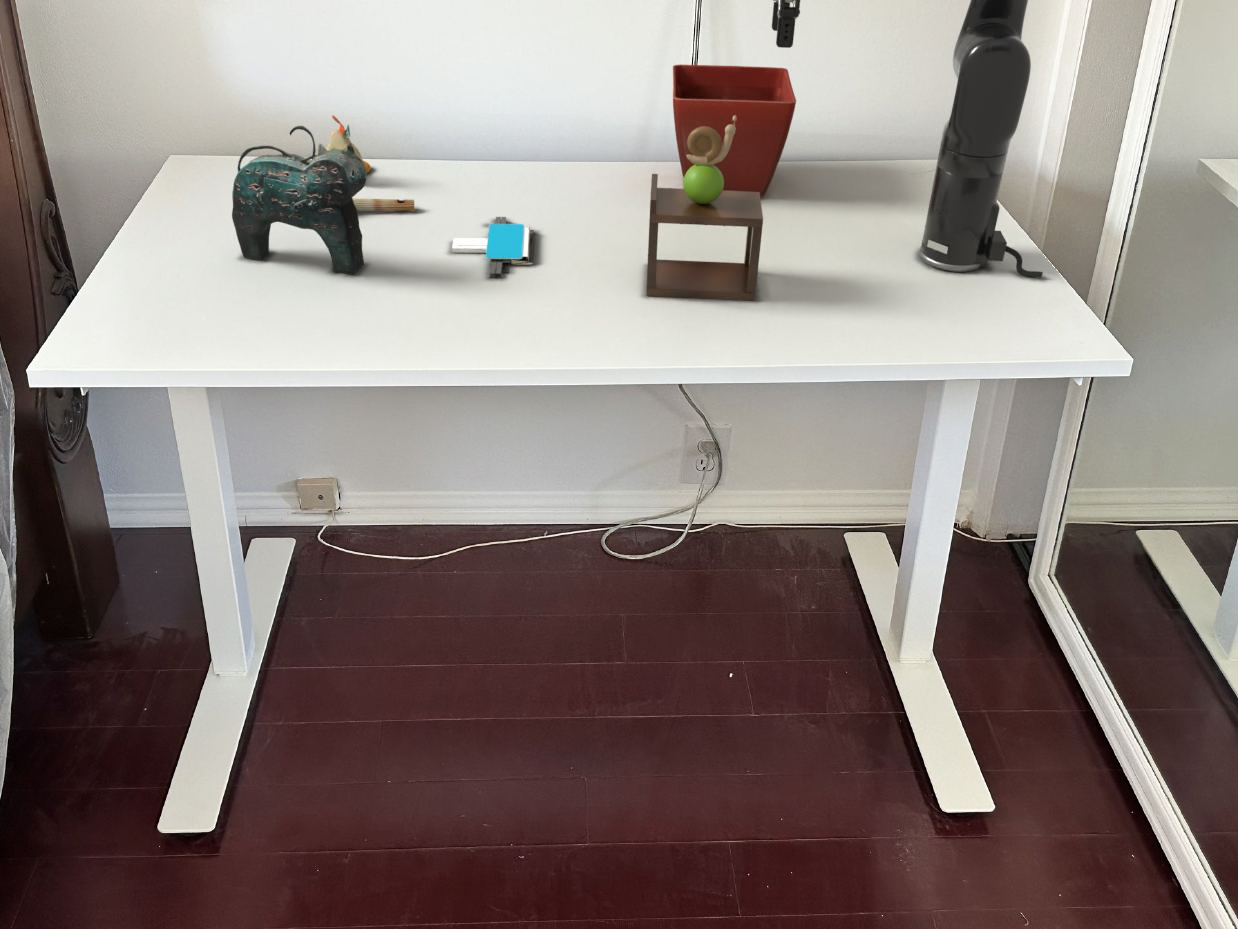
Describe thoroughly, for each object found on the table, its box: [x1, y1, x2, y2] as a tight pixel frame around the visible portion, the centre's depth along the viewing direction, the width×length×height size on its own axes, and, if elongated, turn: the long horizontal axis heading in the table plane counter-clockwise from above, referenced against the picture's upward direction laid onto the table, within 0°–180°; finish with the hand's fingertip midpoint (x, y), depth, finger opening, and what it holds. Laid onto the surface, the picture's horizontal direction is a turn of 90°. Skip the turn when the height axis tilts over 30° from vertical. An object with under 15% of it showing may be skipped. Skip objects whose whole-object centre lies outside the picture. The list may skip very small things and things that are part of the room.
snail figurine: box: [682, 115, 737, 204], centre depth 155 cm, size 5×6×12 cm
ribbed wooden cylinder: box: [352, 197, 415, 212], centre depth 182 cm, size 4×3×20 cm
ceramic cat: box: [231, 125, 368, 275], centre depth 161 cm, size 20×6×20 cm, turn 74°
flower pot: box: [672, 64, 797, 197], centre depth 192 cm, size 19×19×17 cm
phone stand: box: [451, 216, 535, 278], centre depth 173 cm, size 20×12×2 cm, turn 3°
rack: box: [645, 173, 764, 302], centre depth 161 cm, size 15×10×14 cm, turn 87°
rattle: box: [325, 115, 372, 174], centre depth 191 cm, size 8×8×12 cm
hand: (781, 38), depth 160 cm, fingers open, 8 cm apart
